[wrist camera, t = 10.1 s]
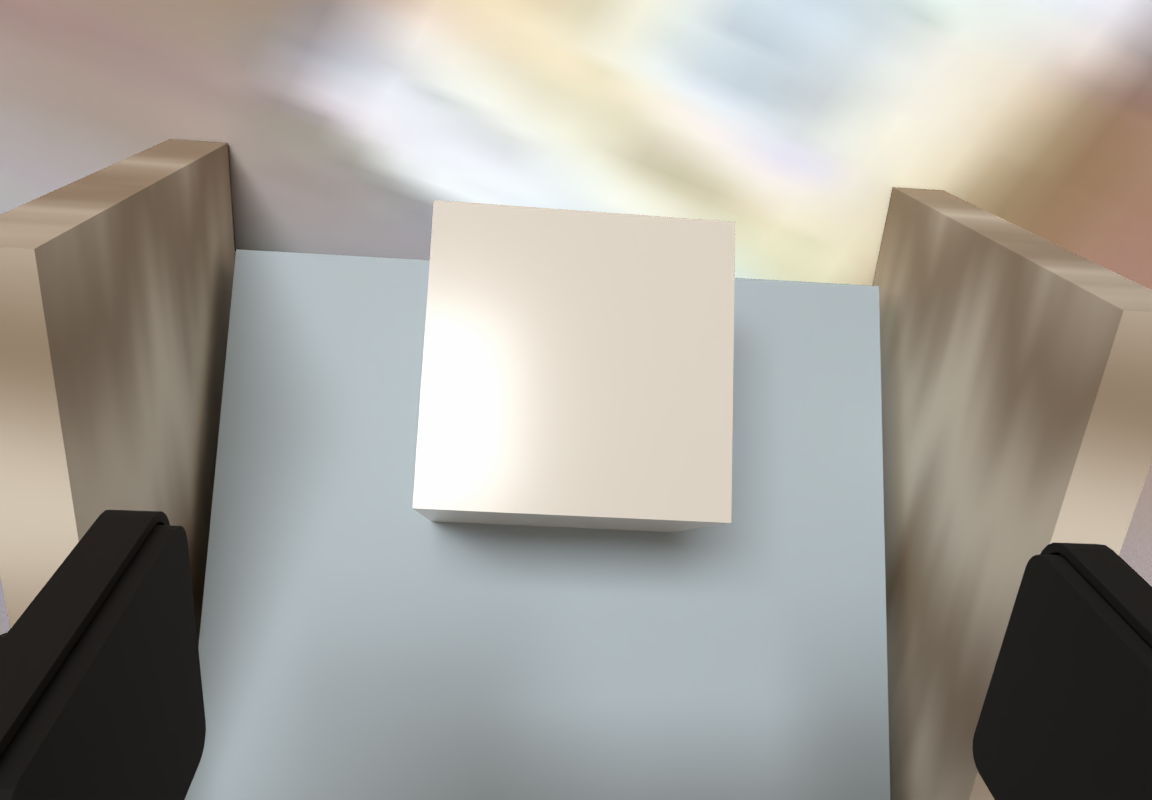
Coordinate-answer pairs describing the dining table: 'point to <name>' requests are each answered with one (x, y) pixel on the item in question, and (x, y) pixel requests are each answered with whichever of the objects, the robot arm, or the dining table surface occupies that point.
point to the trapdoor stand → (908, 393)
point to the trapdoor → (535, 577)
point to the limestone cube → (576, 370)
